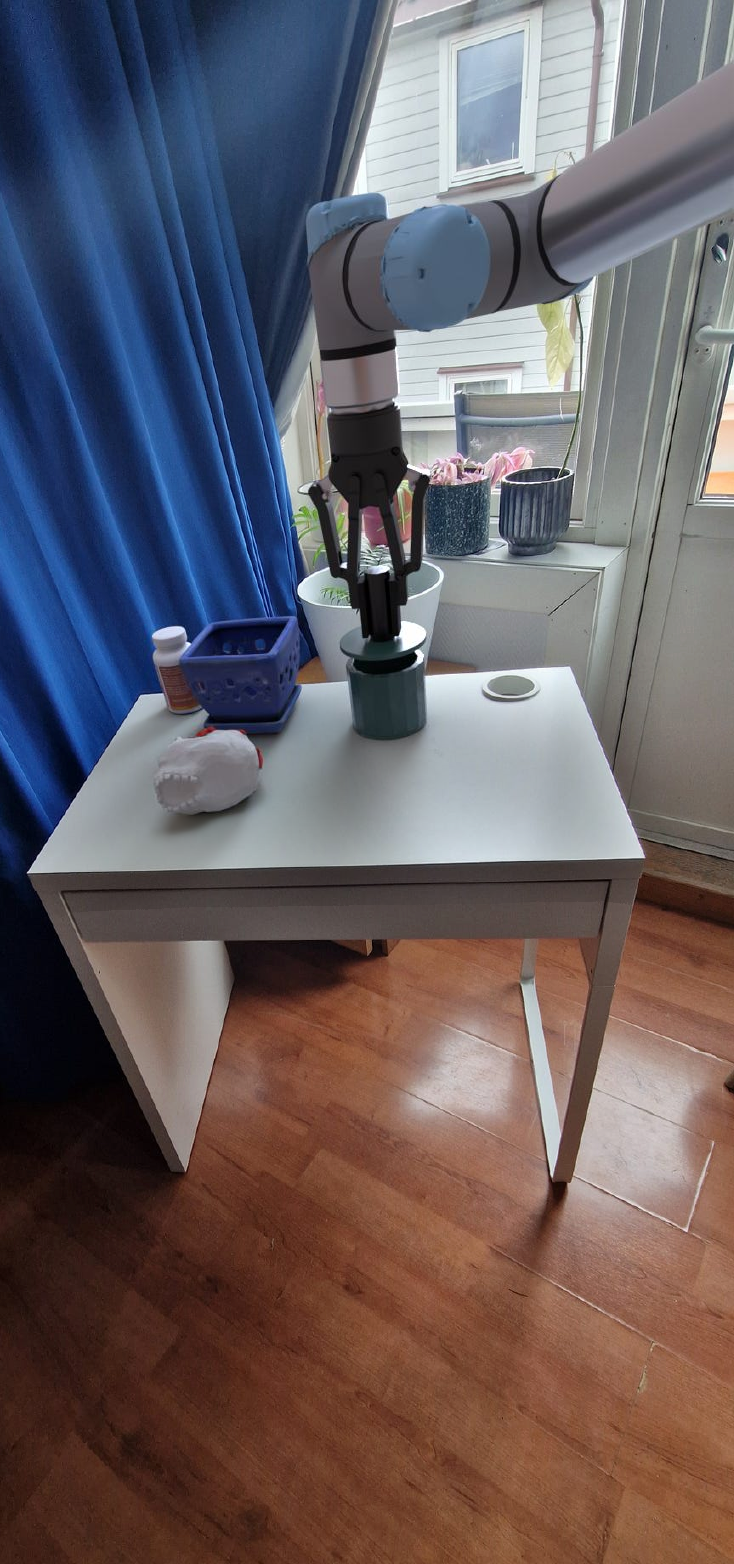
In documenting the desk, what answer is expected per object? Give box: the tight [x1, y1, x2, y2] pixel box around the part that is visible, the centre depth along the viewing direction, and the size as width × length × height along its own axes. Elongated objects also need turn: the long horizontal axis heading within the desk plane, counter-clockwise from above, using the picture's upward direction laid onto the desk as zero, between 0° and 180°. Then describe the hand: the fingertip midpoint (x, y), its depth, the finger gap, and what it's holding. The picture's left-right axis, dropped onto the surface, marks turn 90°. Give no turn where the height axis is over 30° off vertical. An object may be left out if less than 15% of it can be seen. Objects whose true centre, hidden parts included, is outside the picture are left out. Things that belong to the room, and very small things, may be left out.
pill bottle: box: [151, 625, 203, 715], centre depth 105 cm, size 6×6×11 cm
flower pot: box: [179, 615, 303, 734], centre depth 98 cm, size 13×13×12 cm
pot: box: [345, 648, 428, 741], centre depth 93 cm, size 10×10×8 cm
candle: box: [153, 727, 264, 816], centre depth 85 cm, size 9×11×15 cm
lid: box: [339, 565, 427, 661], centre depth 87 cm, size 11×11×9 cm
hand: (382, 632), depth 89 cm, fingers closed on lid, 3 cm apart
